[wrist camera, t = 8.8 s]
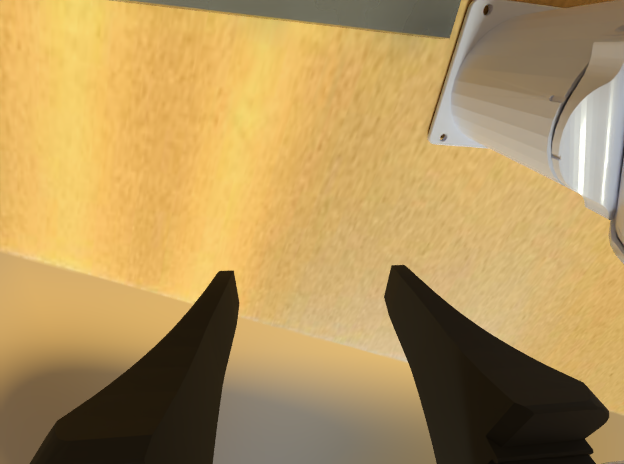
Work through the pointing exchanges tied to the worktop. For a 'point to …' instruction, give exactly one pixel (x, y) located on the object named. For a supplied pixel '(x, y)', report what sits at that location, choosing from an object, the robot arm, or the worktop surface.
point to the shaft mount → (338, 13)
